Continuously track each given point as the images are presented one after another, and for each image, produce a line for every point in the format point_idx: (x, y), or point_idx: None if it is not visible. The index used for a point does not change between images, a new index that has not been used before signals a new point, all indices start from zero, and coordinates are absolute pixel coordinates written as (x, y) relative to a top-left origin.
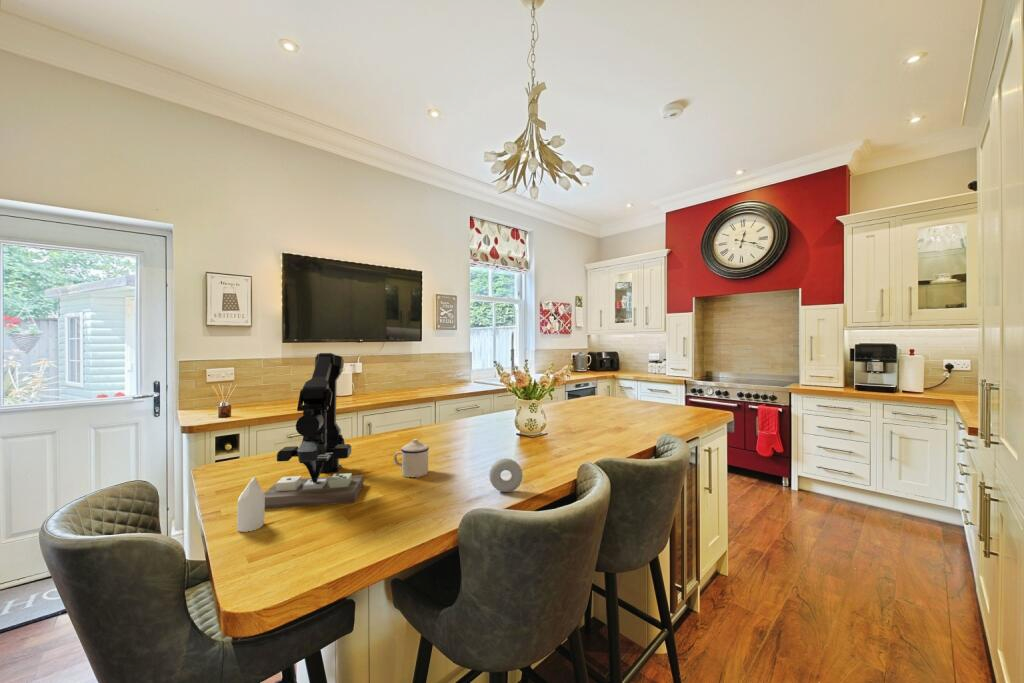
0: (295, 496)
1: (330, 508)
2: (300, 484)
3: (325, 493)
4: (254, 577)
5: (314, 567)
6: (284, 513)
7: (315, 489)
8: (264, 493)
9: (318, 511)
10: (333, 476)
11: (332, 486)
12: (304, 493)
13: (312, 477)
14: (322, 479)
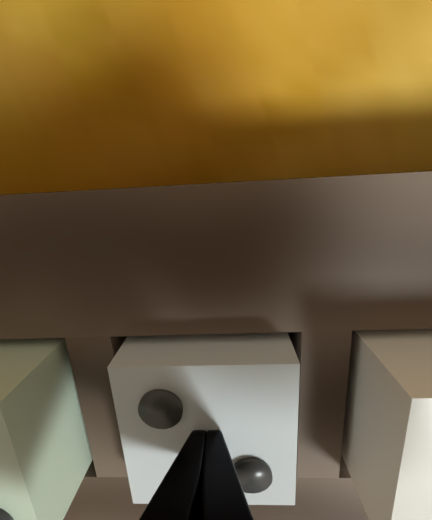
0: (313, 178)
1: (7, 108)
2: (349, 452)
3: (18, 197)
4: None
5: None
6: (336, 42)
7: (169, 320)
8: None
9: (73, 54)
10: (15, 495)
11: (26, 353)
12: (239, 229)
13: (224, 481)
14: None
